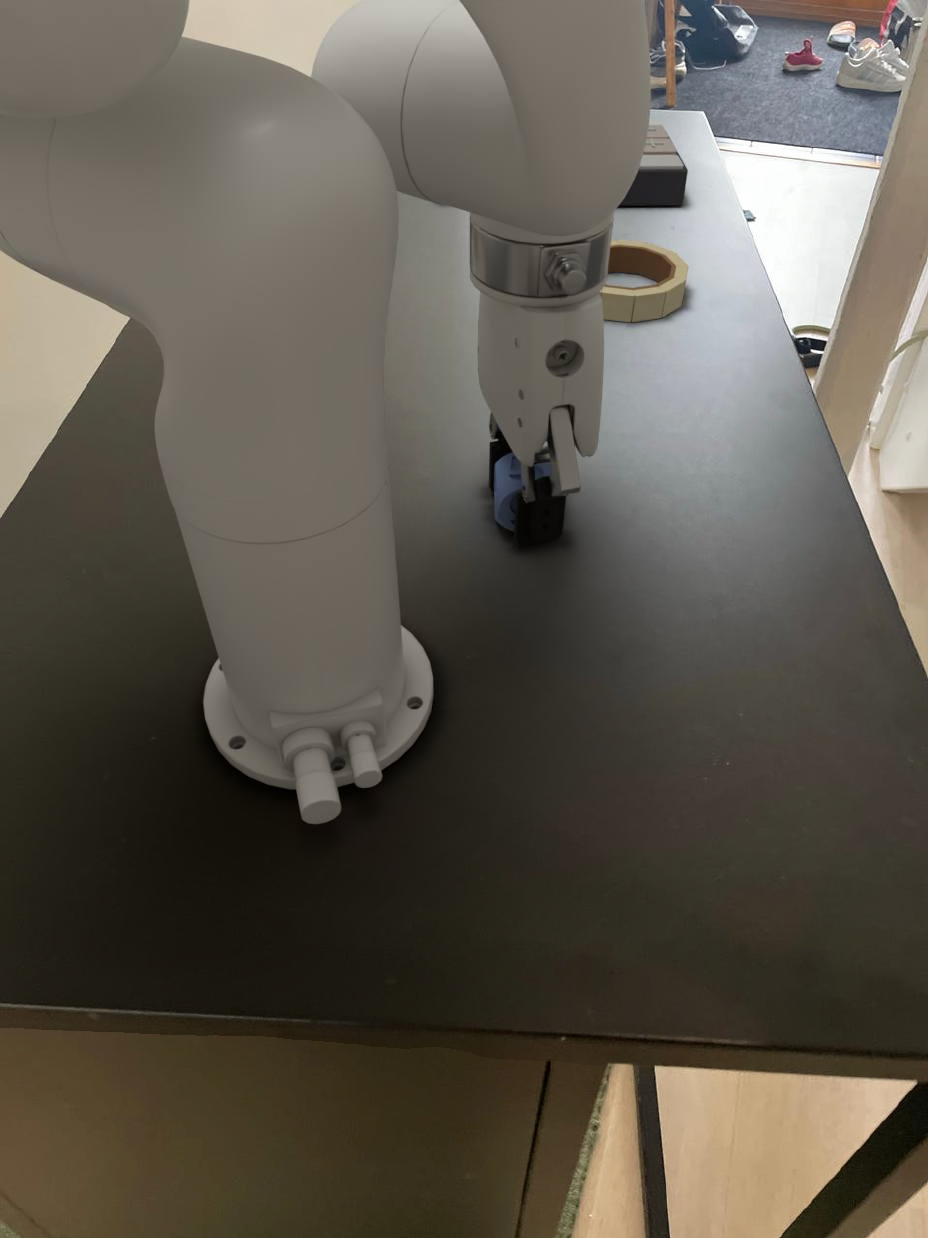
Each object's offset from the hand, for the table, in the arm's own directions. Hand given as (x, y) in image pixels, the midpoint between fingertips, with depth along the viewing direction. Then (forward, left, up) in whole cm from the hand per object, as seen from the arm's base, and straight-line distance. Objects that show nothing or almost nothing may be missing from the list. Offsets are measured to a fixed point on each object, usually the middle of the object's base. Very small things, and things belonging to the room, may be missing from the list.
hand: (524, 510), depth 62 cm
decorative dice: (0, 0, -1) cm, 1 cm away
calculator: (+53, -29, -1) cm, 61 cm away
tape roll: (+28, -19, 0) cm, 34 cm away
